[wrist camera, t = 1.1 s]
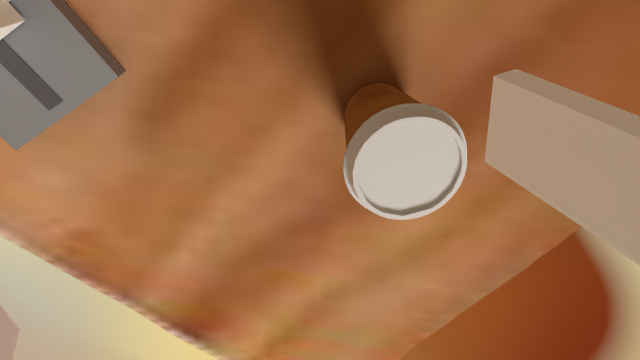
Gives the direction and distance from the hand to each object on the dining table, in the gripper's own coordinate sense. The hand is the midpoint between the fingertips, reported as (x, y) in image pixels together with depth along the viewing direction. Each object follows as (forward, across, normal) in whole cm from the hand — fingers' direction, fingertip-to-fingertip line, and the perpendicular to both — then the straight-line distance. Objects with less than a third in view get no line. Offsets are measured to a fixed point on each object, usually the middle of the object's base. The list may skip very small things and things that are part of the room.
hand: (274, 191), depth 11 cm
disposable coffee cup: (+26, +16, -13) cm, 33 cm away
